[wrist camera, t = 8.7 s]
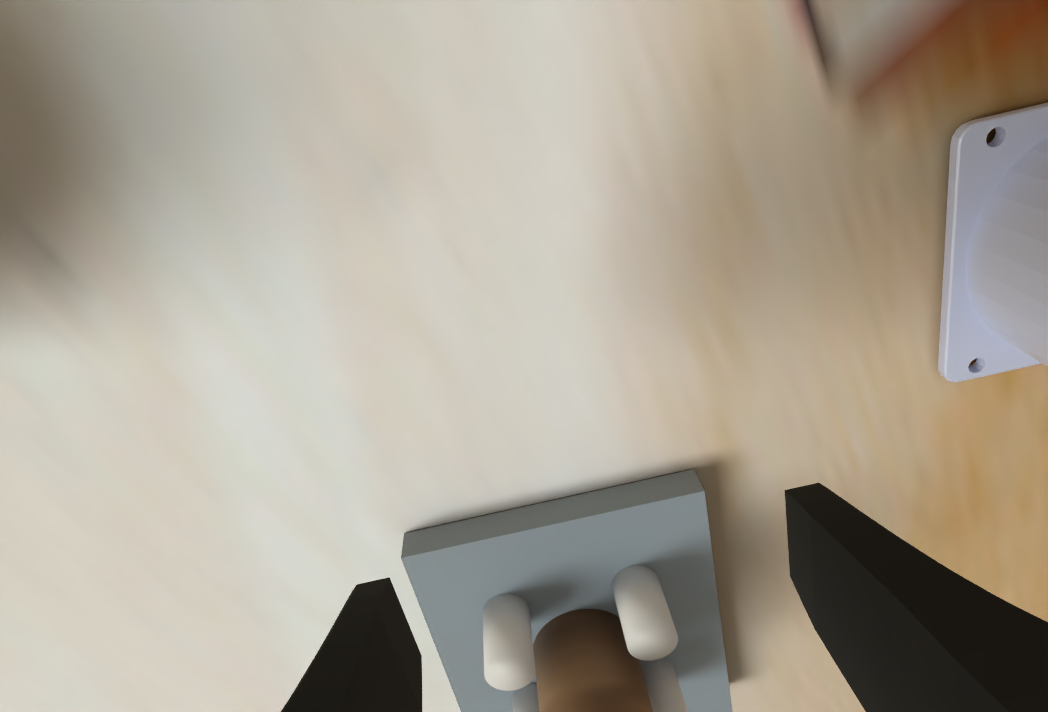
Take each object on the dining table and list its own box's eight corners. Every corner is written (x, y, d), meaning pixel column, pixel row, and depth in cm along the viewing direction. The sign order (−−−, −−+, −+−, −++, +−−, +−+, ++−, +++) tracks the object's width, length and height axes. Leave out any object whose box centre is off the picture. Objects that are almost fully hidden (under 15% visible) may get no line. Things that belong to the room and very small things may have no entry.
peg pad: (693, 469, 23) (731, 543, 20) (722, 687, 28) (756, 776, 25) (404, 533, 23) (393, 617, 20) (482, 738, 28) (484, 833, 25)
